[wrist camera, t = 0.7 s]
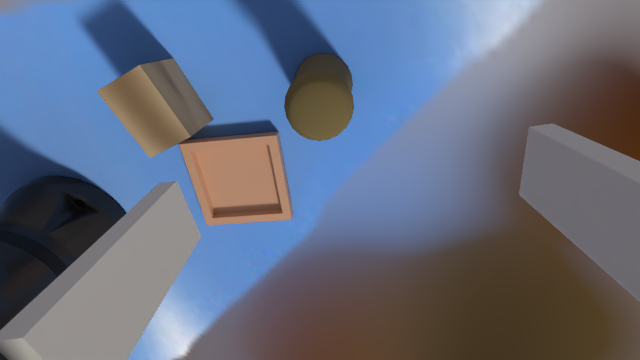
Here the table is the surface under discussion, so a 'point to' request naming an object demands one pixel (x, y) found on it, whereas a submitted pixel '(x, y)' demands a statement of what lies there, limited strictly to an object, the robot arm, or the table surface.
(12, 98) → the table surface
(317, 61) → the cork
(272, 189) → the terracotta dish
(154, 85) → the oak block
